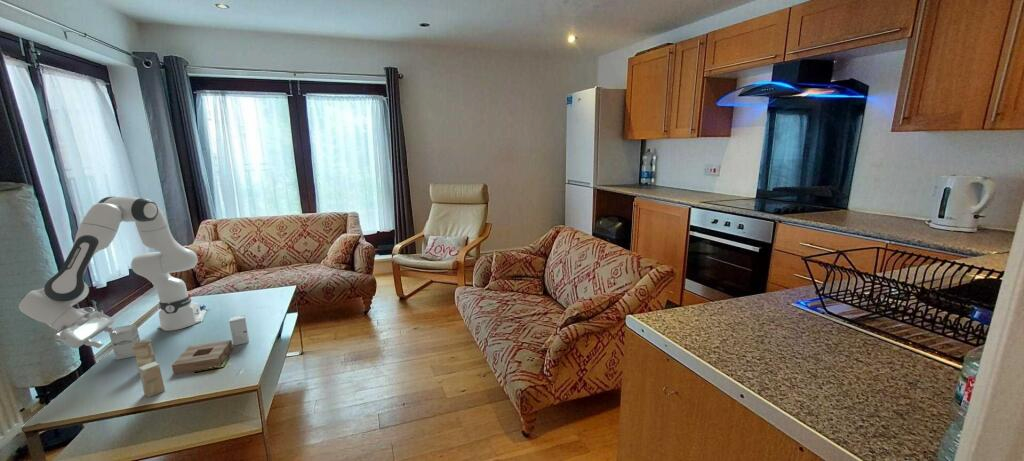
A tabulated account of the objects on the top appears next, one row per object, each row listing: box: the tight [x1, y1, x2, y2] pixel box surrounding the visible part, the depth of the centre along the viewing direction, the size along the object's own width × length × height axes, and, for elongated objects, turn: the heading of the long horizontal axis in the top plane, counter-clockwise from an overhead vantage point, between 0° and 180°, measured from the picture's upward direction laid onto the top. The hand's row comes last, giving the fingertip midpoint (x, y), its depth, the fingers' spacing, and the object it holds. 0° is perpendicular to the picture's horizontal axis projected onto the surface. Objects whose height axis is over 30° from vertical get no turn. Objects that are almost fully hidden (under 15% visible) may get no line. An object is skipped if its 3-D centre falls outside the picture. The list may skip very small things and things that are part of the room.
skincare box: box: [228, 314, 250, 346], centre depth 187 cm, size 6×4×12 cm
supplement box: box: [108, 323, 141, 361], centre depth 180 cm, size 7×7×13 cm
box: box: [137, 361, 166, 398], centre depth 152 cm, size 5×4×11 cm
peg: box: [132, 339, 157, 367], centre depth 167 cm, size 4×4×12 cm
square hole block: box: [171, 339, 234, 375], centre depth 173 cm, size 16×16×4 cm
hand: (109, 340), depth 162 cm, fingers open, 8 cm apart
